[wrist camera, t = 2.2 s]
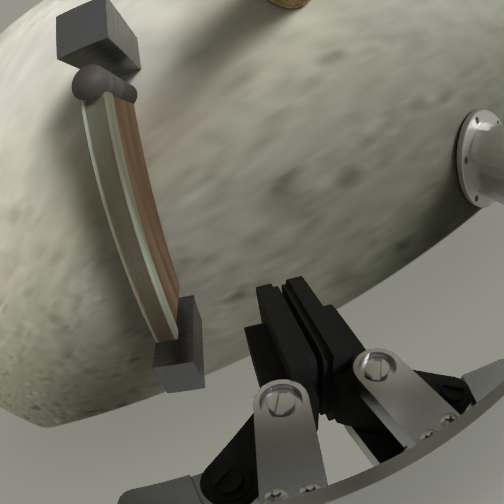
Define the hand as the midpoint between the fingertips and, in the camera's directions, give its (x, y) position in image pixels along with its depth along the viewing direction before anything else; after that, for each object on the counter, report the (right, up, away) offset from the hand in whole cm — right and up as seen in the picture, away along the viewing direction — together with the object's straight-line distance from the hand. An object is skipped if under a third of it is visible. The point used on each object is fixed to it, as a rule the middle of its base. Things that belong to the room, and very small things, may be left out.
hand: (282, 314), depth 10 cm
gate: (-10, +7, +10) cm, 16 cm away
